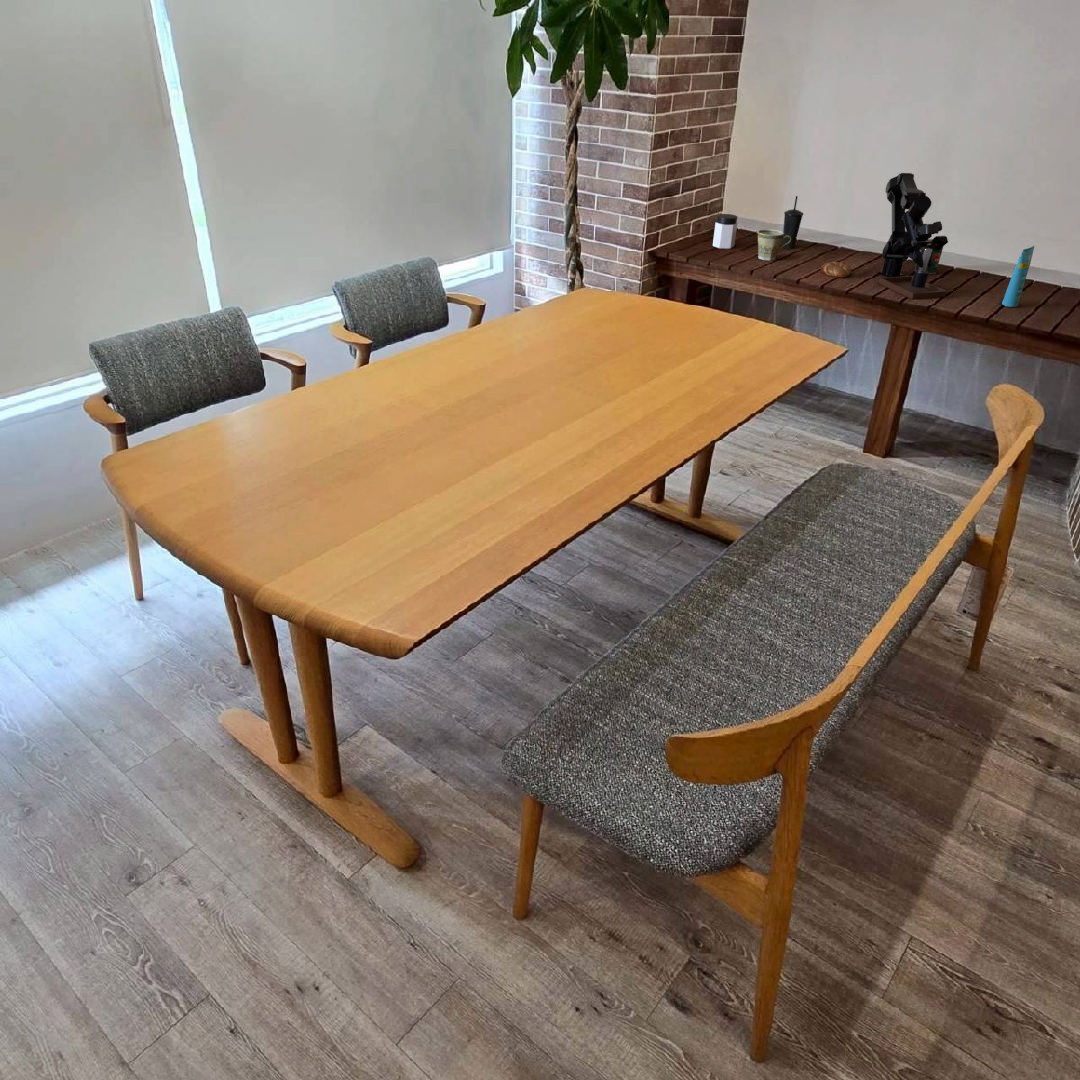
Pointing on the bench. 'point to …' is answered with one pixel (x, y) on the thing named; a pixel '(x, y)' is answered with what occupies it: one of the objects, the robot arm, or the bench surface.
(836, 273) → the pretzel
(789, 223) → the drinking cup
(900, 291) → the tray
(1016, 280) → the tube
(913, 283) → the dark cylinder
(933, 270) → the canned tomato
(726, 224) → the jar
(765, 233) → the ceramic cup
